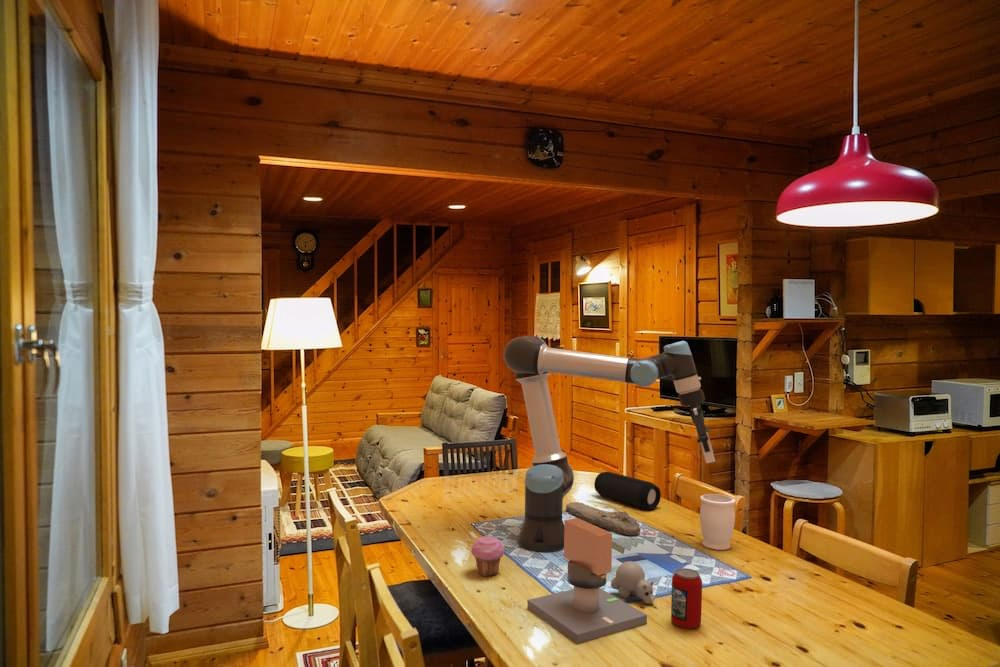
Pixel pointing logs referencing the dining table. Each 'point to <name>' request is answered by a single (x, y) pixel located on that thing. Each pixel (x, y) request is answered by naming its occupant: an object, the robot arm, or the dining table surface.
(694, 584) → the beverage can
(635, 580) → the chubby cartoon animal
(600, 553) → the coupling
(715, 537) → the jar
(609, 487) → the portable speaker
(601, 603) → the coupling base
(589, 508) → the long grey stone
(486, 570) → the cupcake
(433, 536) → the dining table surface
